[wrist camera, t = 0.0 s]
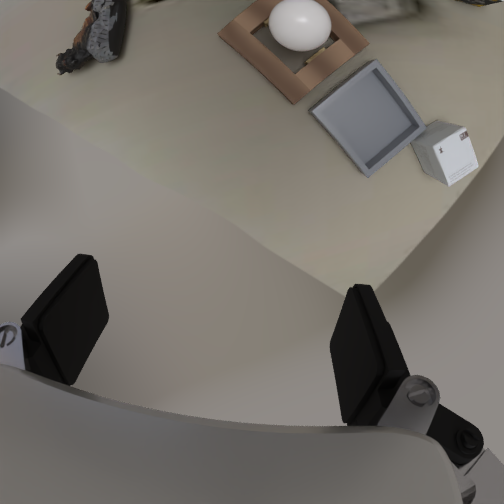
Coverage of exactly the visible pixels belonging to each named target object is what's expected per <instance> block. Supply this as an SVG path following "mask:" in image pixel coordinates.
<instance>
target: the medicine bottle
mask: <svg viewBox="0 0 504 504" xmlns="http://www.w3.org/2000/svg"><path fill="white" fill-rule="evenodd" d="M456 1H460V2H464V3H468V4H472V5H475V6H479V7H480V6H484V5H489V4H493V3H498V2H503V1H504V0H456Z"/></svg>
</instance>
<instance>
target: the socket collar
mask: <svg viewBox="0 0 504 504" xmlns="http://www.w3.org/2000/svg"><path fill="white" fill-rule="evenodd" d="M281 1H283V0H257V1H255V2H254V3H253V4H251V5H250V6H249V7H248V8H246V9H245V10H244V11H243V12H242V13H240V14H239V15H238V16H237V17H236V18H234V19H233V20H232V21H231V22H230V23H229V24H227V25H226V26H225V27H224V28H223V29H222V30H221V31H220V32H218V33H217V34H218V35H219V37H220V38H221V39H223V40H224V41H225V42H226V43H227V44H229V45H230V46H231V47H232V48H233V49H235V50H236V51H237V52H238V53H239V54H240V55H241V56H243V57H244V58H245V59H246V60H247V61H248V62H249V63H250V64H252V65H253V66H254V67H255V68H256V69H257V70H258V71H259V72H260V73H261V74H262V75H263V76H265V77H266V78H267V79H268V80H269V81H270V82H271V83H272V84H273V85H274V86H275V87H276V88H277V89H278V90H279V91H280V92H281V93H282V94H283V95H284V96H285V97H286V98H287V99H288V100H289V101H290V102H291V103H292V104H295V103H297V102H298V101H299V100H300V99H301V98H302V97H304V96H305V95H306V94H307V93H308V92H310V91H311V90H312V89H313V88H314V87H315V86H317V85H318V84H319V83H320V82H322V81H323V80H324V79H325V78H326V77H328V76H329V75H330V74H331V73H333V72H334V71H335V70H336V69H338V68H339V67H340V66H341V65H343V64H344V63H345V62H346V61H348V60H349V59H350V58H352V57H353V56H354V55H355V54H357V53H358V52H359V51H361V50H362V49H363V48H365V47H366V46H367V45H369V44H370V43H369V42H368V41H367V40H366V39H365V38H364V37H363V36H362V35H361V33H360V32H359V31H358V30H357V29H356V28H355V27H354V26H353V25H352V24H351V23H350V22H349V21H348V20H347V19H346V18H345V17H344V16H343V15H342V14H341V13H340V12H339V11H338V10H337V9H336V8H335V7H334V6H333V5H332V4H330V3H329V2H328V1H327V0H314V1H316V2H318V3H319V4H320V5H322V6H323V7H324V8H325V10H326V11H327V12H328V14H329V16H330V19H331V25H332V27H331V33H330V35H329V36H330V37H331V38H332V39H333V40H334V41H335V43H334V44H332V45H331V46H330V47H328V48H327V49H325V48H324V47H323V48H322V49H321V50H319V51H318V52H317V53H315V54H314V55H313V56H312V57H310V58H309V59H308V60H307V61H306V62H305V64H306V66H305V67H303V68H302V69H301V70H300V71H299V72H297V73H296V74H294V73H293V72H292V71H291V70H290V69H289V68H288V67H287V66H286V65H285V64H284V63H283V62H282V61H281V60H280V59H279V58H277V57H276V56H275V55H274V54H273V53H272V52H271V51H270V50H269V49H268V48H267V47H265V46H264V45H263V44H262V43H261V42H260V41H259V40H258V39H256V38H255V37H254V36H253V34H254V33H255V32H257V31H258V30H259V29H260V28H261V27H263V26H265V27H267V26H269V16H270V13H271V11H272V9H273V8H274V7H275V6H276V5H277V4H278V3H279V2H281Z"/></svg>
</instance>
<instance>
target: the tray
mask: <svg viewBox="0 0 504 504" xmlns="http://www.w3.org/2000/svg"><path fill="white" fill-rule="evenodd" d="M308 111H309V112H310V113H311V114H312V115H313V116H314V117H315V118H316V119H317V120H318V121H319V123H320V124H321V125H322V126H323V127H324V128H325V129H326V130H327V132H328V133H329V134H330V135H331V136H332V137H333V138H334V140H335V141H336V142H337V143H338V144H339V145H340V147H341V148H342V149H343V150H344V151H345V153H346V154H347V155H348V156H349V158H350V159H351V160H352V161H353V162H354V164H355V165H356V166H357V167H358V169H359V170H360V171H361V172H362V173H363V174H364V175H365V176H366V177H367V178H369V177H370V176H371V175H372V174H373V173H375V172H376V171H377V170H378V169H379V168H381V167H382V166H383V165H384V164H385V163H387V162H388V161H389V160H390V159H391V158H392V157H394V156H395V155H396V154H397V153H398V152H400V151H401V150H402V149H403V148H404V147H405V146H407V145H408V144H409V143H410V142H411V141H413V140H414V139H415V138H416V137H417V136H418V135H420V134H421V133H422V132H423V131H424V130H425V129H427V128H426V126H425V124H424V123H423V121H422V120H421V118H420V117H419V115H418V114H417V112H416V111H415V109H414V108H413V106H412V105H411V103H410V102H409V101H408V99H407V98H406V96H405V95H404V94H403V92H402V91H401V90H400V88H399V87H398V85H397V84H396V83H395V82H394V80H393V79H392V78H391V76H390V75H389V74H388V73H387V71H386V70H385V69H384V68H383V66H382V65H381V64H380V63H379V62H378V60H377V59H375V60H371V61H368V62H367V63H366V64H365V65H363V66H362V67H361V68H359V69H358V70H357V71H356V72H354V73H353V74H352V75H351V76H349V77H348V78H347V79H346V80H344V81H343V82H342V83H341V84H339V85H338V86H337V87H336V88H335V89H333V90H332V91H331V92H330V93H328V94H327V95H326V96H325V97H324V98H322V99H321V100H320V101H319V102H318V103H317V104H315V105H314V106H313V107H312V108H311V109H309V110H308Z"/></svg>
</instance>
